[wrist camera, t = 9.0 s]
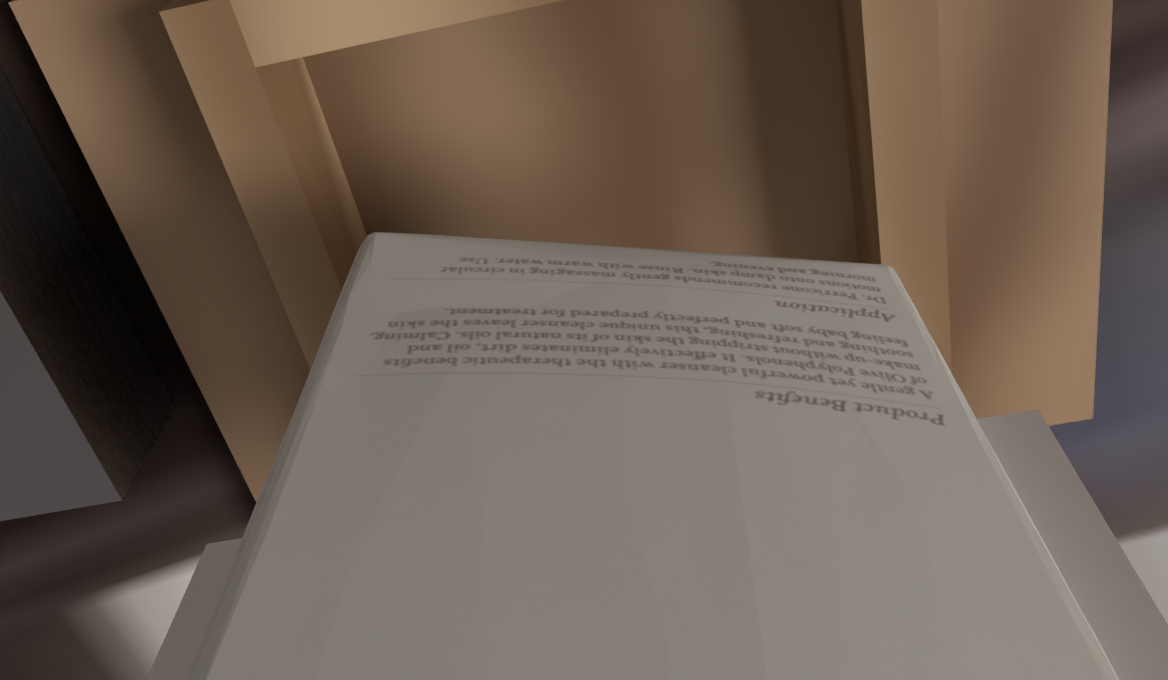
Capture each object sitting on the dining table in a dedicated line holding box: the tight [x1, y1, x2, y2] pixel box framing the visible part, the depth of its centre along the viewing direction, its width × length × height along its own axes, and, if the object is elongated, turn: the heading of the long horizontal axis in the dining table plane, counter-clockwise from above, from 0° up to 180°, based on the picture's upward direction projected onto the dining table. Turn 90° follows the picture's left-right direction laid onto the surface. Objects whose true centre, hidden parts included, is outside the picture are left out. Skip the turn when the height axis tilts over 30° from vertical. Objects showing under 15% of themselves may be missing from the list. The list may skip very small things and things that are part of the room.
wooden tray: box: [9, 0, 1113, 502], centre depth 22 cm, size 20×14×4 cm
